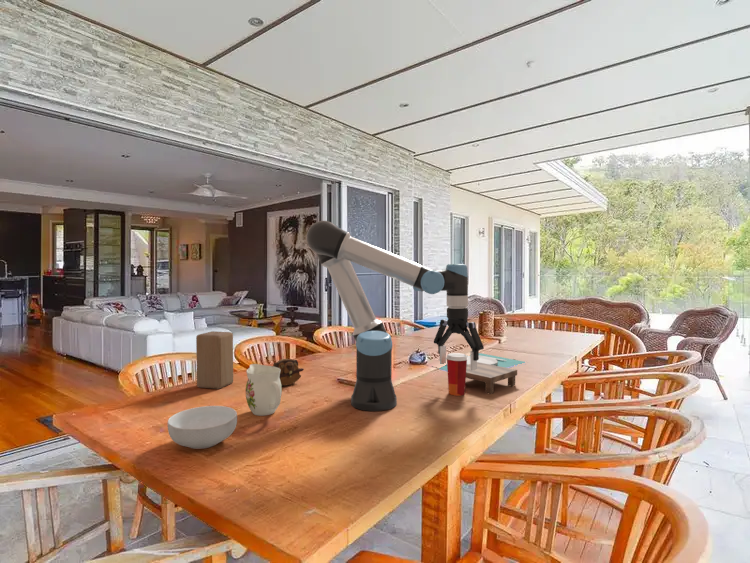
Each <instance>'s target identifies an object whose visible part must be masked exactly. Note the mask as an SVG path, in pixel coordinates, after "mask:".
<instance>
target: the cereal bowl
mask: <svg viewBox="0 0 750 563" xmlns="http://www.w3.org/2000/svg"><path fill="white" fill-rule="evenodd" d="M237 424H238V413H237V410H235V409H234V408H233V407H229V406H226V405H206V406H197V407H192V408H188V409H184V410H181V411H180V412H177V413H175V414H173V415H171V416H170V417H169V418H168V419H167V424H166V425H167V432H168V435H169V437H170V439H171V440H172V441H173V442H174V443H175V444H177V445H179V446H182V447H188V448H190V449H196V450H200V449H207V448H212V447H214V446H216V445H218V444H219V443H221V442H223V441H225V440H226V439H228V438H229V437H230V436H231V435H232V434H233V432H235V430H236V427H237Z"/></svg>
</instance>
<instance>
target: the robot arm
mask: <svg viewBox="0 0 750 563" xmlns="http://www.w3.org/2000/svg"><path fill="white" fill-rule="evenodd" d="M306 242H307V245H308V247H309V249H310V250H311V251H313V252H314V253H315V254H316V256H317V259H318V261H319V263H320V265H321V266H322V267H324V268H327V270H328V272H329V275H330V277H331V279H332V282H333V284H334V286H335V288H336V291H337V293H338V294H339V297H340V300H341V301H342V304H343V307H344V308H345V311H346V313H347V315H348V317H349V319H350V322H351V324H352V326H353V328H354V329H353V332H352V336H353V339H354V341H355V348H356V358H355V359H356V362H355V363H356V366H355V367H356V374H355V375H356V380H355V385H354V388H353V390H352V391H353V392H352V394H351V397H350V405H351V406H352V407H353V408H355V409H357V410H360V411H361V410H362V411H365V412H366V411H368V412H379V411H381V412H382V411H387V410H390V409H394V408H395V407H396V406H397V404H398V401H397V399H398V398H397V395H396V393H395V388H394V387H395V386H394V385H393V382H392V374H393V373H392V358H393V357H392V355H393V354H392V353H393V339H392V336H391V335H390V334H389V333H388V332H387V330H386V328H385V325H384V323H383V321H382V320H380V319H377V318H376V315H375V314H374V310H373V308H372V307H371V305H370V301H369V299H368V298H367V295H366V293H365V290H364V288H363V286H362V283H361V282H360V280H359V278H358V275H357V273H356V271H355V268H354V266H353V264H352V263H355V264H357V265H359V266H361V267H364V268H367V269H368V270H371V271H373V272H377V273H379V274H382V275H384V276H386V277H389V278H392V279H393V280H396V281H399V282H402V283H404V284H406V285H408V286H412V288H413V289H412V290H414V292H424V293H426V294H429V295H435V294H437V293H440V292H441V291H442V292H443V291H446V307H447V308H446V318H444V319H440V322H439V327H438V330H437V332H436V335H435V337H434V339H433V343H434V344H436V345H437V347H438V348H437V349H438V350H437V351H438V353H437V354H438V355H439V361H440V364H444V363H446V360H447V359H446V357H447V346H446V342H447V341H448V340H449V339H450V337H451V336H452V334H457V335H461V336H462V337H463V338H464V339H465V340H464V341H466V343H467V344H468V346H469V347H470V348H471V350H470V354H469V355H470V361H471V370H475V369H477V360H478V359H479V353H480V351H482V350H484V347H485V346H484V345H483V342H482V339H481V338H480V335H479V332H478V329H477V324H476V322H475V321H471V322H468V318H469V308H468V306H469V276H468V275H469V274H468V272H469V271H468V266H467V265H466V264H464V263H454V264H453V263H452V264H450V263H448V264H447V265H446V266H445V269H432V268H429V267H427V266H424V265H421V264H419V263H417V262H415V261H412V260H409V259H407V258H405V257H403V256H400V255H398V254H394V253H392V252H390V251H387V250H385V249H383V248H380V247H378V246H375V245H372V244H371V243H368V242H365V241H364V240H360V239H359V238H355V237H353V236H351V233H350V232H349V231H346V230H344V229H342V228H341V227H339V226H338V225H337V224H335V223H333V222H331V221H328V220H319V221H317V222H315V223H313V224H311V225H310V227H309V228H308V230H307V233H306ZM446 328H447V329H446Z"/></svg>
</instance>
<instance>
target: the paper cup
mask: <svg viewBox="0 0 750 563" xmlns="http://www.w3.org/2000/svg"><path fill="white" fill-rule="evenodd" d="M467 356H468V355H466V354H465V353H461V352H460V353H459V352H450V353H448V354H446V360H447V370H448V372H447V384H448V385H447V387H448V394H449V395H451V396H453V397H455V396H456V397H458V396H460V397H462V396H464V395H465V393H466V383H467V382H466V381H467V380H466V379H467V378H466V367H467V360H468V358H467Z"/></svg>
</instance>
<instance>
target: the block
mask: <svg viewBox="0 0 750 563" xmlns="http://www.w3.org/2000/svg"><path fill="white" fill-rule="evenodd" d="M233 338H234V334H233V332H232V331H215V330H212V331H207V332H203V333H199V334H197V335H196V340H195V341H196V342H195V343H196V344H195V346H196V350H195V351H196V386H197V388H204V389H213V390H214V389H215V390H220V389H222V388H224V387H226V386H228V385H231V384H232V383H234V339H233Z"/></svg>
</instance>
